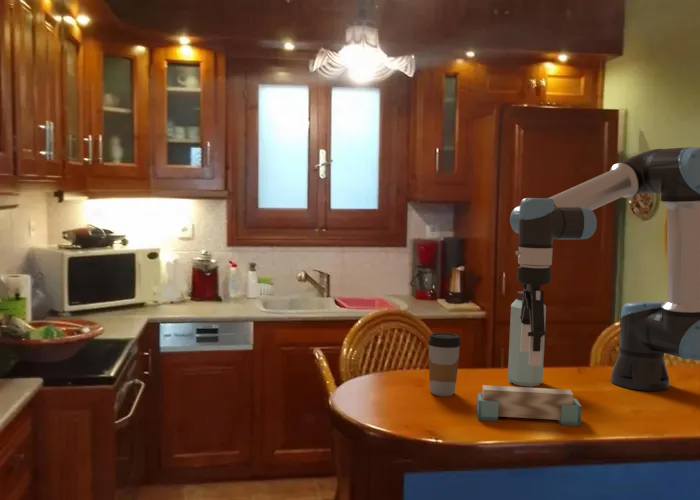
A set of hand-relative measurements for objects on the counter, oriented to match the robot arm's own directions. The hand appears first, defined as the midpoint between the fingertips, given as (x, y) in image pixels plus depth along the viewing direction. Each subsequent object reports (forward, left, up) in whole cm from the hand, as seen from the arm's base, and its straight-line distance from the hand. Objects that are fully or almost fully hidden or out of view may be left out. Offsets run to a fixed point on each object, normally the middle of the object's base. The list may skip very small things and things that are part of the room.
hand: (530, 358), depth 166 cm
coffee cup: (+19, -18, -14) cm, 30 cm away
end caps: (0, 0, -14) cm, 14 cm away
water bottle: (-4, -33, -14) cm, 36 cm away
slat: (0, 0, -13) cm, 13 cm away
